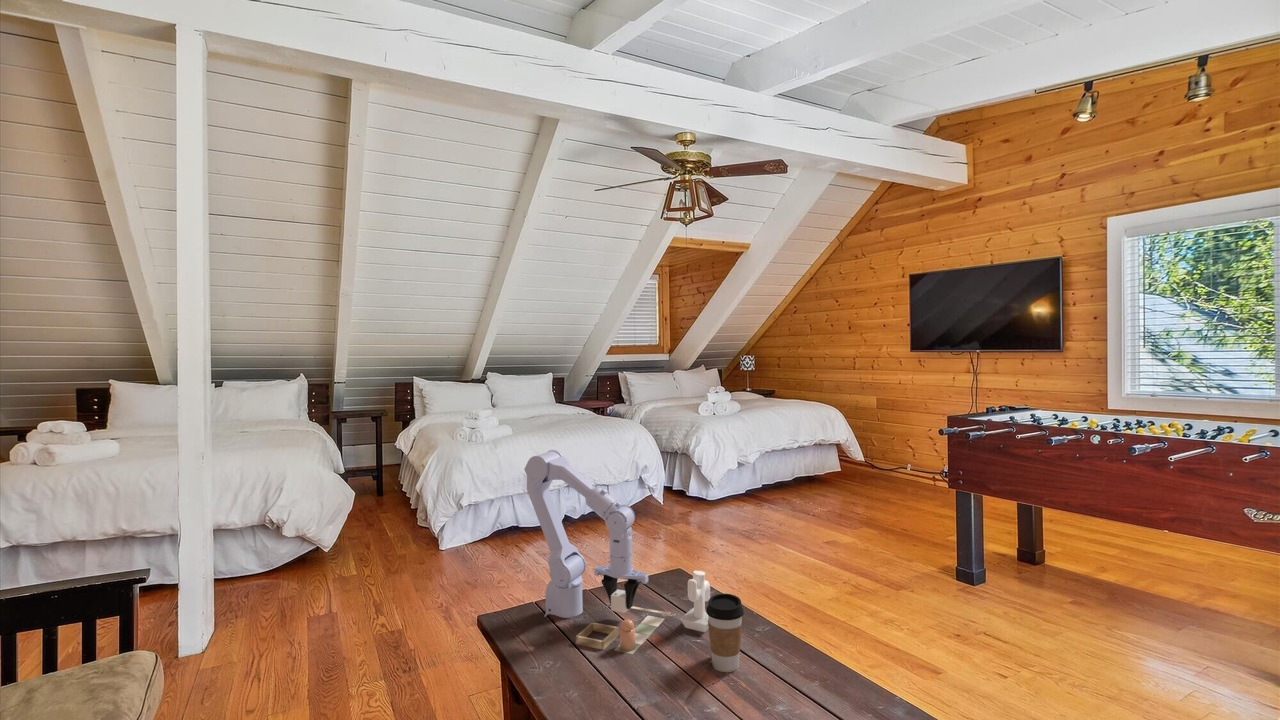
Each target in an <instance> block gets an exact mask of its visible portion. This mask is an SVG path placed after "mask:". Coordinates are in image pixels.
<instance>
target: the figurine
mask: <svg viewBox="0 0 1280 720" xmlns="http://www.w3.org/2000/svg"><path fill="white" fill-rule="evenodd" d="M687 598H688V599H689V601H690V602H693V607H692V608H691V609H689V610H688V611H687V612H686V613H685V614H684V615H683V616H682V617H680V621H681V623H682V624H683V627H684V628H685V629H690V630H692V631H696V632H702V633H706V632H707V631H709V627H708V615H707V613H706V608H705V607H706V605H705V604H706V603H705V602H709V599H710V598H711V585H710V582H709V581H708V580H706V572H705V571H701V570H694V571H693V572H692V579H691V578H690V579H688V581H687Z"/></svg>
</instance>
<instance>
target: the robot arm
mask: <svg viewBox="0 0 1280 720" xmlns="http://www.w3.org/2000/svg"><path fill="white" fill-rule="evenodd" d="M524 472H525V475H526V491H527V494H528V497H529V499H530V502H531V505H532V507H533V510H534V512H535V515H536V517H537V520H538V523H539V525H540V528H541V530H542V532H543V535H544V539H545V540H546V543H547V547H548V549H549V551H550V552H549V556H548V560H547V564H548V566H549V578H550V581H548V584H547V585H546V589H545V595H544V596H545V614H544V616H543V617H544V618H545V617H547V616H548V615H553V616H557V617H560V618H563V619H572V618H573V619H574V618H575V617H577V616H580V614H582V613H583V612H584V610H583V608H584V607H583V574H584V573H585V572H586V570H587V569H586V568H587V562H586V559H585V558H584V556H583V555H582V554H581V553H580V551H579V550H578V547H576V546H575V545H573V544H572V543H570V540H569V538H568V536H567V533H566V530H565V527H564V524H563V522H562V520H561V517H560V514H559V511H558V509H557V506H556V504H555V502H554V499H553V496H552V495H551V492H550V486H551V484H552V483H553V480H554V481H557V480H559V481H563V482H564V483H565V484H566V485H568V486H569V487H570V488H572V489H574V490H575V491H576V492H577V493H578V494H579V495H581V496H583V498H585V505H586V506H587V507H588V508H589V509H591V510H592V511H593V512H594V513H595V514H596V515H597V516H599V517H600V518H601V519H602V520H603V521H604V524H605V527H606V529H607V530H608V532H609V566H604V565H596V566H595V567H594V576H597V577H598V576H603V577H602V578H603V579H601V585H602V586H603V587H604V589H605V591H606V594H607V597H608V600H609V605H610V606H611V595H612V594H613V593H614V592H615V591H616V590H618V589H617V588H618V587H617V586H618V579H621V580H627V581H626V582H625V583H624V584H623V586H624V591H625V592H626V607H627V609H629V610H630V609H632V608H631V607H632V606H633V604H634V603H633V602H634V598H635V596H636V592H637V590H638V587H639V586H640V584H644V585H646V584H647V583H648V582H649V573H645V572H641V571H639V570H636V569H634V568H633V548H632V547H633V536H632V534H633V532H632V531H633V528H632V525H633V524H634V522H635V521H636V520H635V519H636V515H635V512H634V510H633V508H631V506H630V505H628V504H622V503H621V502H620V501H617V500H616V499H615V497H612V495H610V494H609V491H608V490H607V489H606V488H602V487H594V486H593V485H592V484H591V483H590V482H589V481H588V480H587V479H586V478H585V477H584V476H583V475H581V474H580V472H578V470H577V469H575V468H574V467H573V465H571V464H570V462H569V460H568V458H567V457H565V456H564V455H562V454H561V452H559V451H558V450H555V449H550V450H548V451H546V452H544V453H541V454H538V455H533V456H531V457H530V458H529V459H528V461H527V463H526V465H525V467H524Z"/></svg>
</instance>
